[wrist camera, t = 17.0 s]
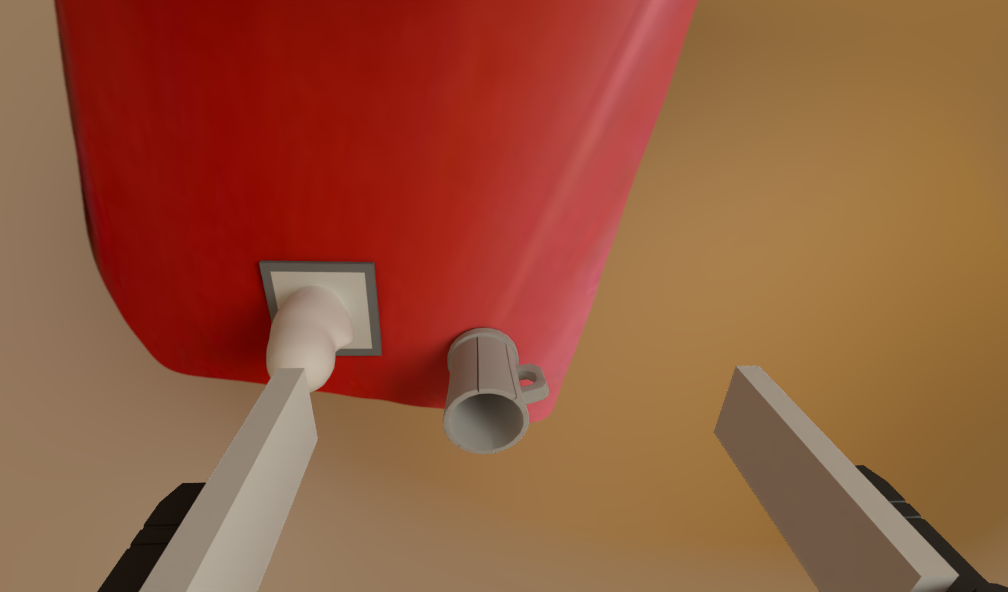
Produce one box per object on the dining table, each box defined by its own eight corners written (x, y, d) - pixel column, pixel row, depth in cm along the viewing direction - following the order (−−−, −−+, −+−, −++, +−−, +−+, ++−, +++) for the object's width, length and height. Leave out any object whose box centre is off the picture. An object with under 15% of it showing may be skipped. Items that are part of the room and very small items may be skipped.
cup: (490, 303, 54) (496, 362, 44) (543, 346, 58) (560, 411, 47) (432, 358, 57) (424, 426, 47) (485, 396, 60) (489, 468, 50)
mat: (261, 260, 50) (259, 262, 49) (374, 262, 51) (372, 264, 50) (280, 352, 55) (278, 355, 55) (382, 352, 56) (381, 355, 56)
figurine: (323, 349, 55) (288, 419, 44) (273, 305, 52) (223, 369, 41) (367, 317, 53) (343, 382, 43) (318, 270, 50) (278, 327, 39)
